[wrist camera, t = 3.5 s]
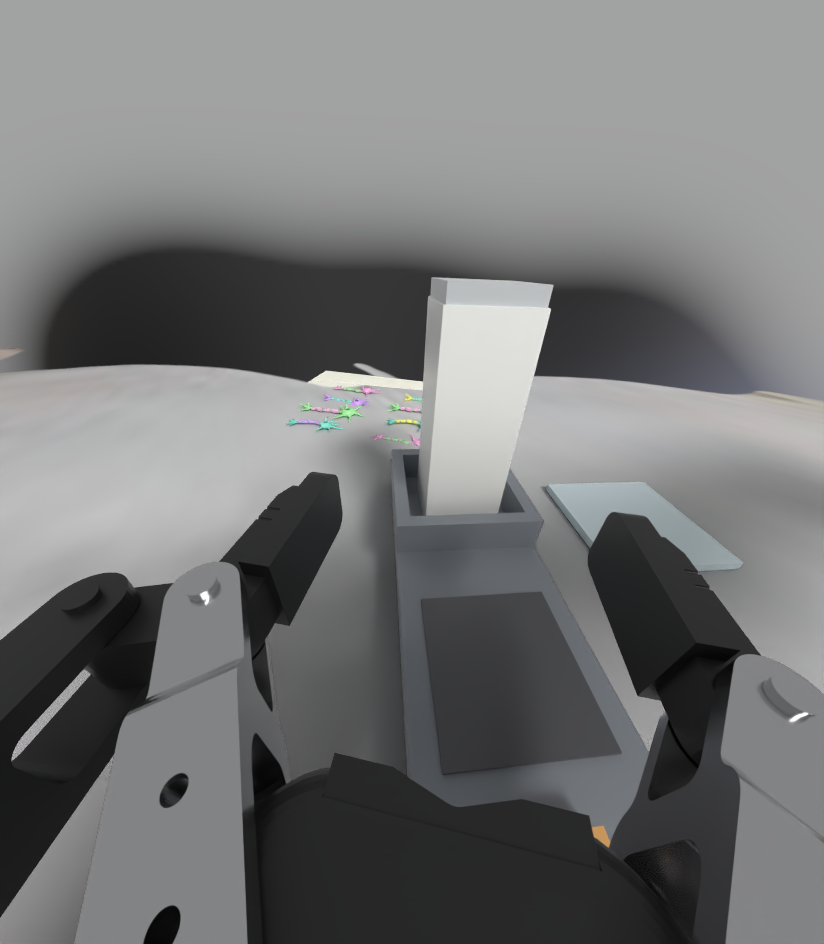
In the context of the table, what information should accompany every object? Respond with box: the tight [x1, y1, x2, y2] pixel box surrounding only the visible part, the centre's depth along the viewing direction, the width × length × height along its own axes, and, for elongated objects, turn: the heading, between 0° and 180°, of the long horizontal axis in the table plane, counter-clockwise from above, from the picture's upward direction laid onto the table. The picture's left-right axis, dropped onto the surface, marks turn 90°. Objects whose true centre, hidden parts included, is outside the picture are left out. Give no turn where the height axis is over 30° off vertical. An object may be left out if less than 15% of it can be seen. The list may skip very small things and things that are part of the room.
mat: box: [546, 482, 743, 571], centre depth 23 cm, size 9×9×1 cm
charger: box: [417, 278, 553, 516], centre depth 17 cm, size 4×4×13 cm
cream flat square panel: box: [285, 371, 423, 448], centre depth 39 cm, size 30×30×2 cm
